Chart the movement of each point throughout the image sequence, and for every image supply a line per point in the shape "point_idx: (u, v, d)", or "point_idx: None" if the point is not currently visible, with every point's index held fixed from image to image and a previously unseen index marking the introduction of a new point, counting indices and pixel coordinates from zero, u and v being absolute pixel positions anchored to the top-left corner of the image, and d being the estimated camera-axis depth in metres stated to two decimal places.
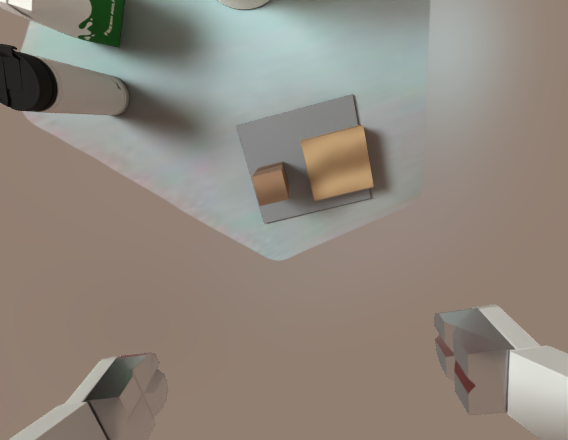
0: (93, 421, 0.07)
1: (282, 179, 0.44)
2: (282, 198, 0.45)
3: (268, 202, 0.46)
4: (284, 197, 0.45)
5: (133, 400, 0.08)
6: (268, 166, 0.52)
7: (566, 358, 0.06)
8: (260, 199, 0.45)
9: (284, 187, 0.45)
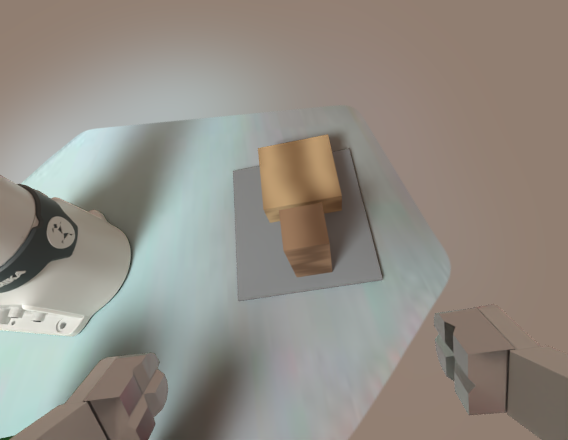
0: (93, 421, 0.07)
1: (292, 209, 0.31)
2: (320, 210, 0.31)
3: (324, 230, 0.30)
4: (318, 208, 0.31)
5: (133, 400, 0.08)
6: None
7: (566, 358, 0.06)
8: (318, 240, 0.30)
9: (304, 207, 0.31)
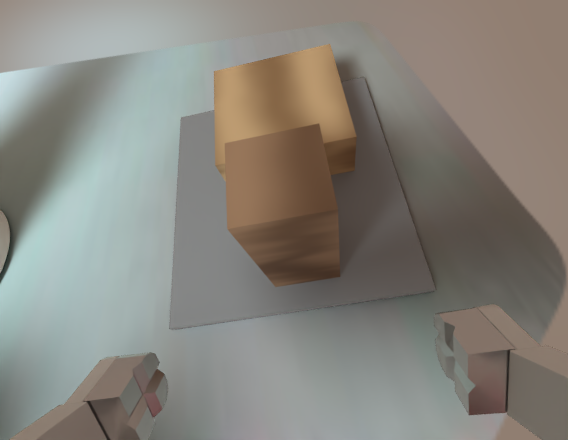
0: (93, 421, 0.07)
1: (253, 139, 0.14)
2: (314, 139, 0.14)
3: (325, 179, 0.13)
4: (311, 134, 0.14)
5: (133, 400, 0.08)
6: None
7: (566, 358, 0.06)
8: (310, 204, 0.12)
9: (279, 134, 0.14)
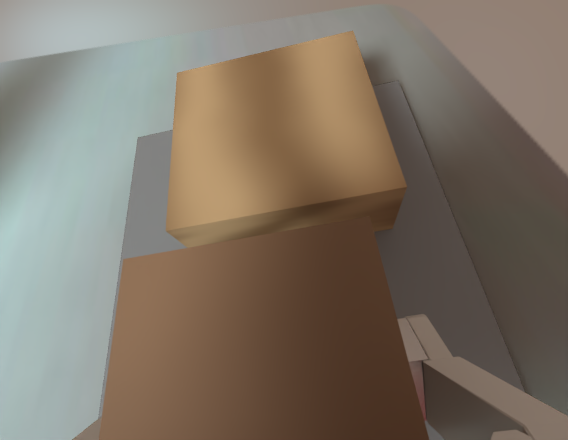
0: None
1: (195, 255, 0.05)
2: (361, 269, 0.05)
3: (407, 436, 0.04)
4: (350, 251, 0.05)
5: None
6: None
7: (471, 369, 0.06)
8: None
9: (262, 244, 0.05)
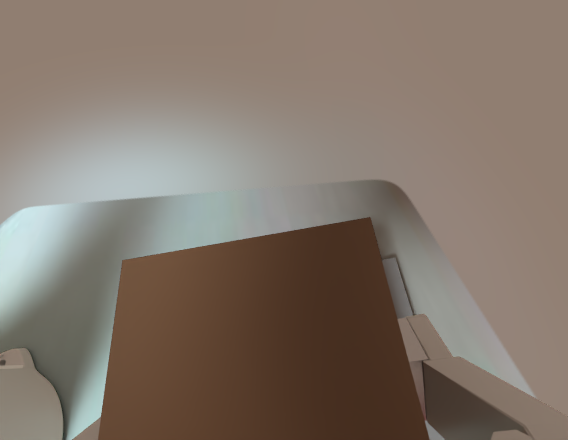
0: None
1: (195, 256, 0.05)
2: (361, 271, 0.05)
3: None
4: (350, 253, 0.05)
5: None
6: None
7: (471, 369, 0.06)
8: None
9: (262, 246, 0.05)
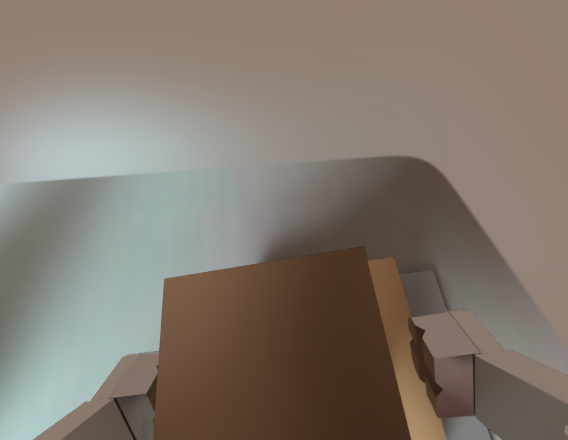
0: (119, 418, 0.07)
1: (223, 276, 0.07)
2: (356, 289, 0.06)
3: (390, 417, 0.05)
4: (348, 275, 0.06)
5: None
6: None
7: (528, 362, 0.06)
8: None
9: (278, 268, 0.07)
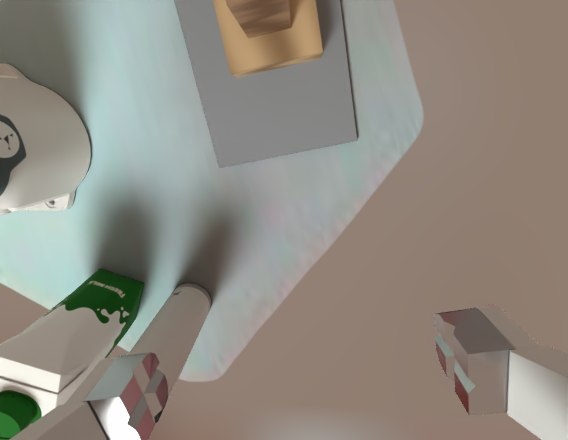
0: (93, 421, 0.07)
1: None
2: None
3: None
4: None
5: (133, 400, 0.08)
6: None
7: (566, 358, 0.06)
8: None
9: None
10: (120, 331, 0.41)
